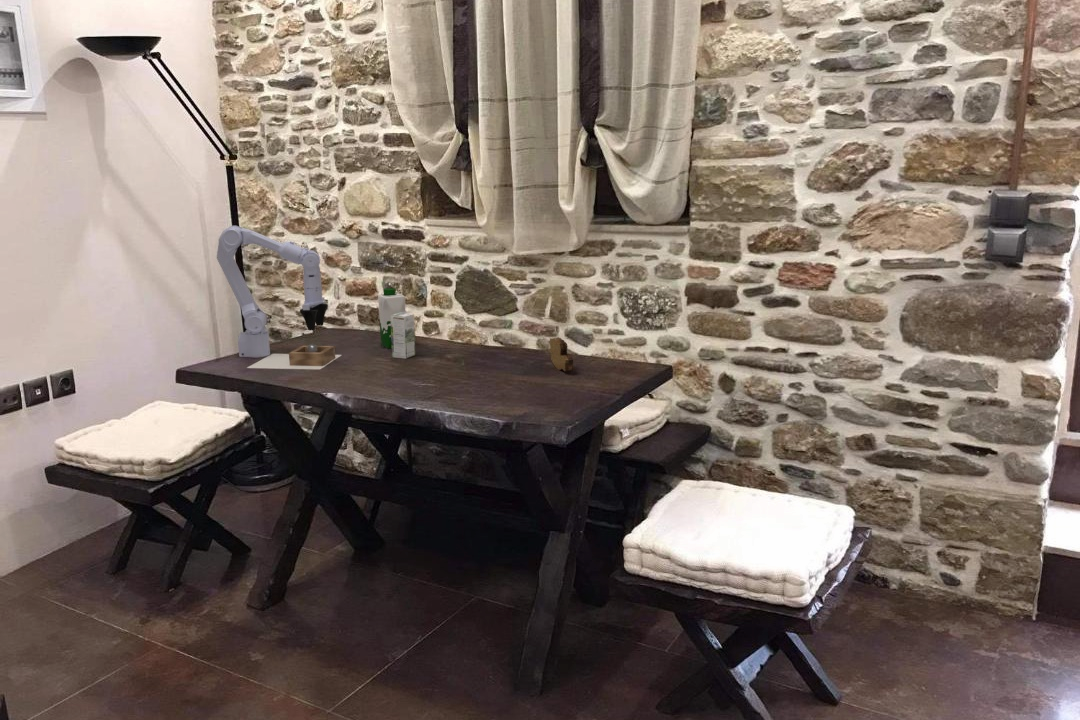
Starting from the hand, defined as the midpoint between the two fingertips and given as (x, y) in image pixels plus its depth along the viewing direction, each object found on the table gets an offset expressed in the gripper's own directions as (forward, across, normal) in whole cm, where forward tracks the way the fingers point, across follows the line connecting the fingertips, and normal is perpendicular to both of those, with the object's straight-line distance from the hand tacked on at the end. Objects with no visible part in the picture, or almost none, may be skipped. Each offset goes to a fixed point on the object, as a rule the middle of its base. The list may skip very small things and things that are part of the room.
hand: (315, 327), depth 295 cm
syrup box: (+10, 0, -30) cm, 31 cm away
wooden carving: (+10, -13, -84) cm, 86 cm away
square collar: (+8, -14, -4) cm, 17 cm away
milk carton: (+10, +16, -22) cm, 29 cm away
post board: (+9, -14, +2) cm, 17 cm away
